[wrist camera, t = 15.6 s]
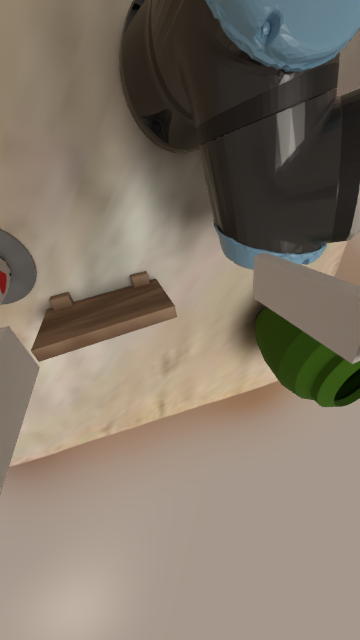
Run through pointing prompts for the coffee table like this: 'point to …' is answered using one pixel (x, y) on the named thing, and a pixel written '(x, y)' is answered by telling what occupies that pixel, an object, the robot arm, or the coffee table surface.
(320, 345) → the vase
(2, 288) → the cup
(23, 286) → the coaster
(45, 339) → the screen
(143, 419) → the coffee table surface
